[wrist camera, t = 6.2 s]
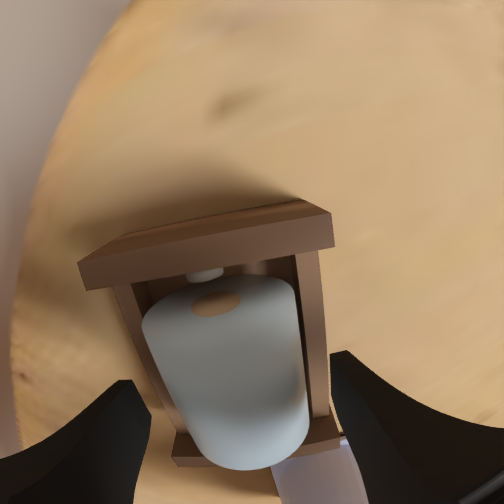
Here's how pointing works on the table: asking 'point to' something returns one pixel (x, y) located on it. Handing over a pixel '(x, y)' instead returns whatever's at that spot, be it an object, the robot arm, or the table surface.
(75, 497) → the robot arm
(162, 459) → the table surface
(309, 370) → the holder
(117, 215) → the table surface
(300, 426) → the roll
